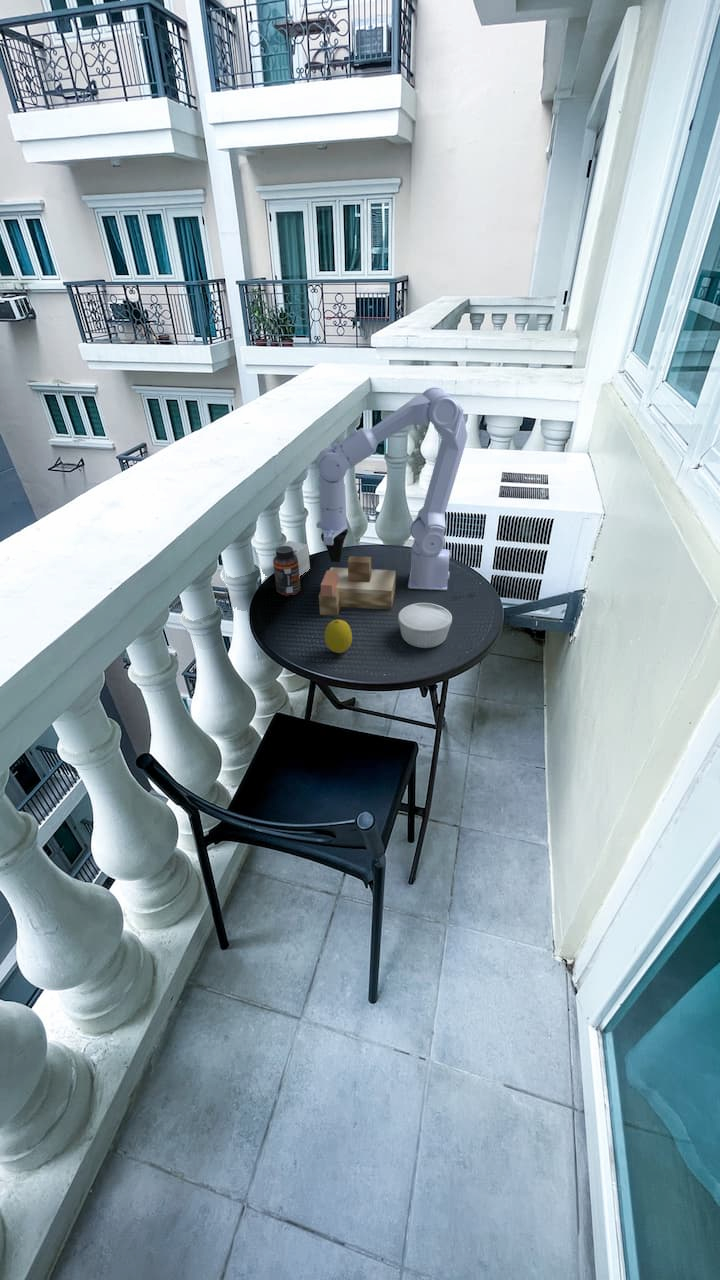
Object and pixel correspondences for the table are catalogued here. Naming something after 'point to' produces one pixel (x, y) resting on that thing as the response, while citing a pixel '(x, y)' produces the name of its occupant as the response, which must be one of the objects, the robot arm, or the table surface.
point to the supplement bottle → (286, 571)
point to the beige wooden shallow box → (354, 601)
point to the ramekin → (424, 624)
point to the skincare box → (300, 555)
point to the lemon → (338, 636)
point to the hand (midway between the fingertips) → (335, 560)
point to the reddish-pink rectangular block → (329, 583)
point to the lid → (364, 577)
